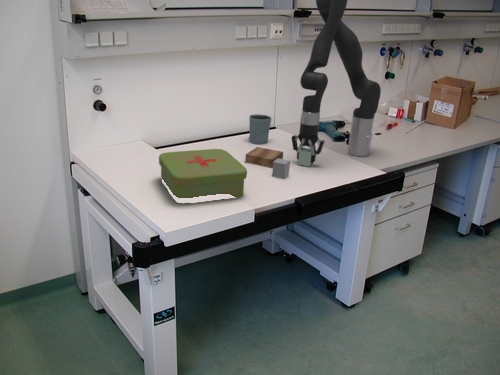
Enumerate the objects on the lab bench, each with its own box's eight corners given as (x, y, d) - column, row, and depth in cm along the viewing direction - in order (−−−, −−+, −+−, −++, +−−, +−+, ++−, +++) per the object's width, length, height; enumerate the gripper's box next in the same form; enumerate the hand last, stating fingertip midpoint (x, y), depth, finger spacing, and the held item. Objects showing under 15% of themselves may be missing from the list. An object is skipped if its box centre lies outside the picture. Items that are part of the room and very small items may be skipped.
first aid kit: (175, 207, 159) (175, 178, 156) (156, 178, 181) (156, 152, 177) (249, 198, 170) (251, 171, 166) (222, 172, 191) (223, 147, 188)
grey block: (288, 175, 192) (290, 160, 190) (284, 179, 188) (285, 164, 186) (276, 172, 194) (278, 158, 192) (272, 176, 190) (273, 161, 188)
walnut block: (282, 160, 209) (283, 151, 207) (272, 168, 198) (272, 159, 197) (256, 155, 213) (257, 146, 211) (245, 163, 203) (245, 154, 201)
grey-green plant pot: (244, 142, 228) (246, 117, 223) (252, 137, 237) (254, 112, 232) (265, 146, 225) (267, 120, 220) (272, 140, 233) (274, 116, 229)
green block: (313, 163, 206) (314, 149, 204) (309, 166, 202) (310, 152, 199) (301, 160, 208) (303, 147, 205) (297, 164, 203) (299, 150, 201)
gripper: (329, 122, 198) (324, 162, 205) (296, 117, 204) (292, 156, 210) (324, 126, 192) (319, 167, 199) (290, 121, 197) (286, 161, 204)
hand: (305, 161), depth 204 cm, fingers closed on green block, 5 cm apart
